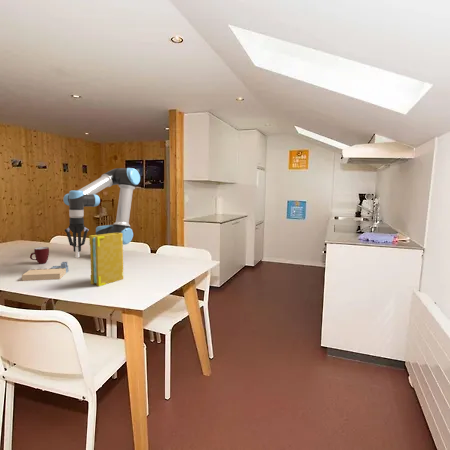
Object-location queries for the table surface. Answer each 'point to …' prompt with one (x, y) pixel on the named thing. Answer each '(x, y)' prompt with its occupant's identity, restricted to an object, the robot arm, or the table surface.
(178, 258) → the table surface
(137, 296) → the table surface
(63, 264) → the stub
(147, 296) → the table surface
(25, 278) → the board
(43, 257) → the mug
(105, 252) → the book
